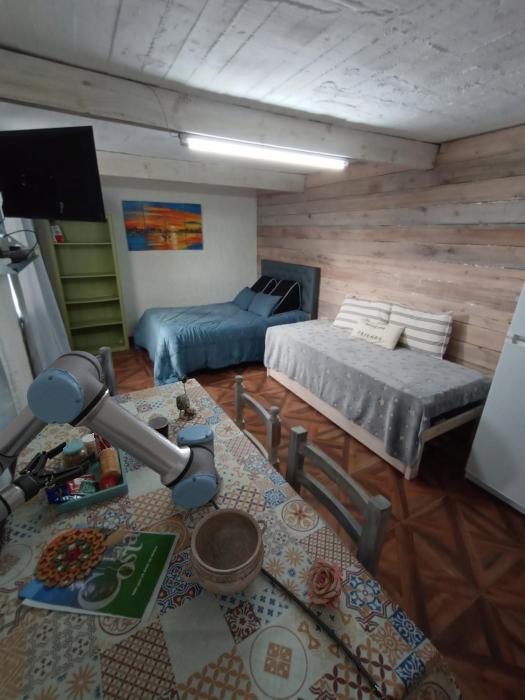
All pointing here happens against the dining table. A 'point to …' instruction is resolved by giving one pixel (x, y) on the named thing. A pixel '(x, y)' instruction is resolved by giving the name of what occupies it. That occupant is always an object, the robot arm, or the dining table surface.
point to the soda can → (101, 443)
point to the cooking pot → (226, 551)
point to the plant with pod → (184, 404)
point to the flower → (324, 582)
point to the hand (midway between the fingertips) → (80, 449)
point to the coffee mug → (160, 425)
